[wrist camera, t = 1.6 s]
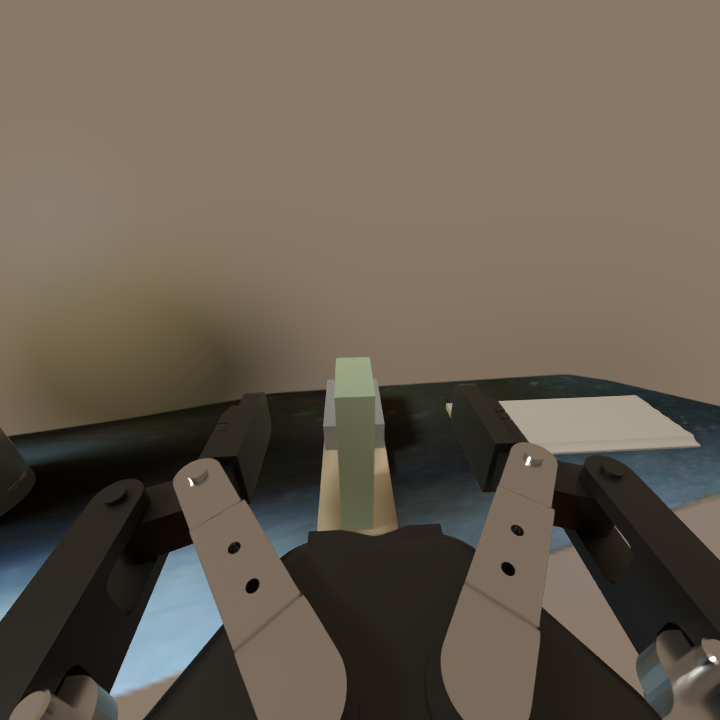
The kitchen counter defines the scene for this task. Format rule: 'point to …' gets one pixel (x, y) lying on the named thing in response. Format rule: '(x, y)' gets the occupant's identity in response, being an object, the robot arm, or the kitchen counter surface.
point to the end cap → (330, 418)
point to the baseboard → (595, 425)
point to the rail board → (332, 502)
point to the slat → (355, 441)
